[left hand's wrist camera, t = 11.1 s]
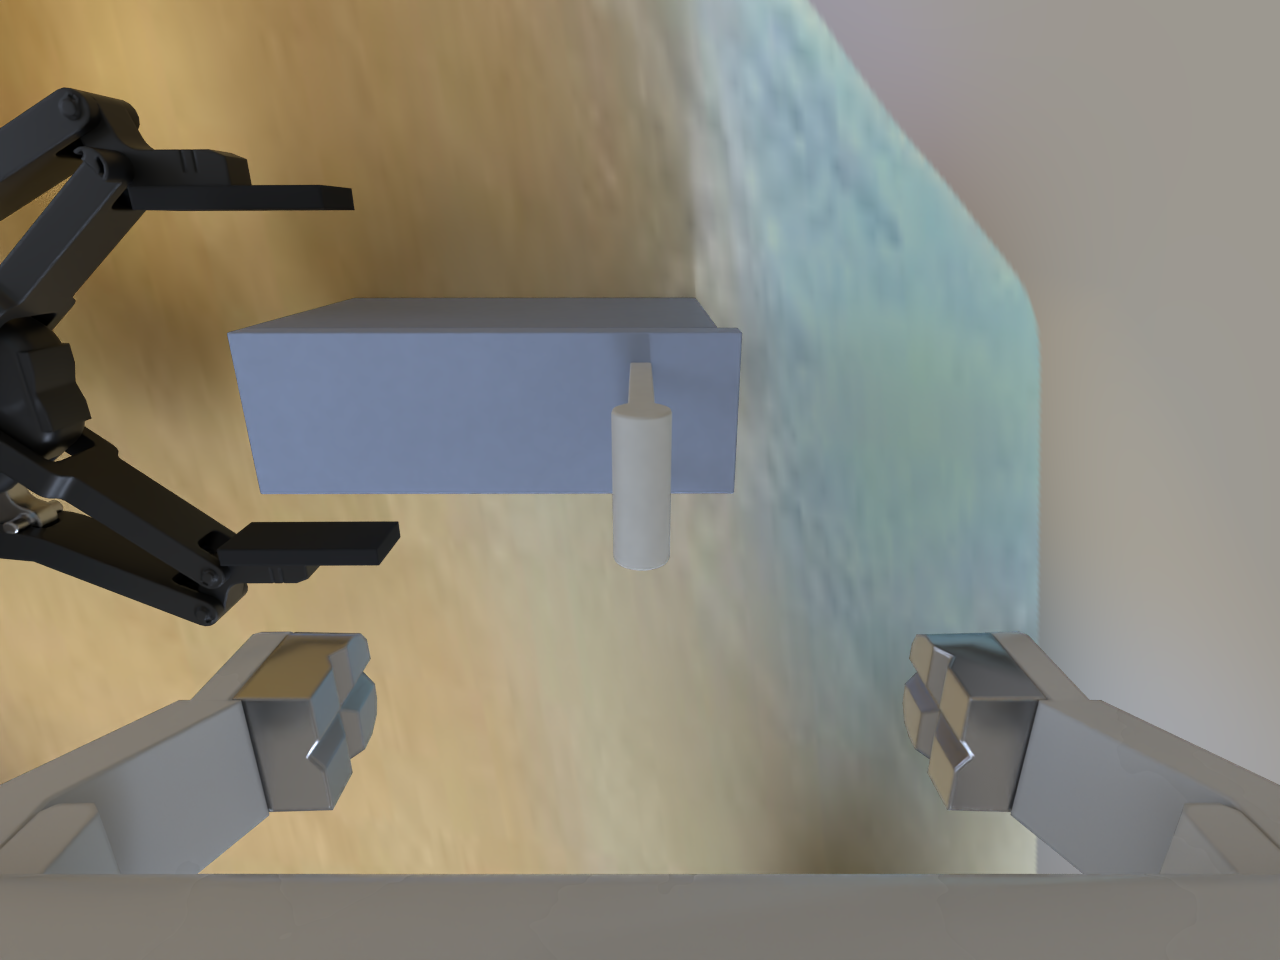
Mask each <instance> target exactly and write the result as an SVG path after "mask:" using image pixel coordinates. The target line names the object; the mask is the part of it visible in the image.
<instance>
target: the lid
mask: <svg viewBox="0 0 1280 960" xmlns="http://www.w3.org/2000/svg"><path fill="white" fill-rule="evenodd" d="M227 336H228V340H229V345H230V350H231V355H232V359H233V364H234V369H235V374H236V378H237V383H238V388H239V393H240V397H241V402H242V407H243V412H244V416H245V421H246V426H247V431H248V435H249V440H250V445H251V450H252V454H253V459H254V464H255V469H256V473H257V478H258V483H259V488H260V492H261V494H582V493H612V495H613V556H614V559H615V561H616V563H617V564H619V565H620V566H622V567H624V568H627V569H632V570H651V569H656V568H659V567H661V566H663V565H665V564H666V563H667V561H668V560H669V557H670V508H671V493H734V480H735V461H736V442H737V422H738V403H739V383H740V364H741V344H742V332H741V331H740V330H739V329H738V328H242V329H239V330H235V331H231V332H228V333H227Z"/></svg>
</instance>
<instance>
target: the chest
mask: <svg viewBox="0 0 1280 960" xmlns="http://www.w3.org/2000/svg"><path fill="white" fill-rule="evenodd" d="M246 328H717V326H716V325H715V324H714V322H713V321H712V320H711V318H710V317H709V316H708V314H707V313H706V312H705V310H704V309H703V307H702V306H701V305H700V303H699V302H698V301H697V299H696V298H353V299H349V300H345V301H341V302H338V303H334V304H330V305H327V306H323V307H319V308H315V309H312V310H308V311H304V312H301V313H297V314H293V315H290V316H286V317H282V318H279V319H275V320H271V321H268V322H264V323H260V324H257V325H253V326H249V327H246Z"/></svg>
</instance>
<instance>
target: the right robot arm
mask: <svg viewBox="0 0 1280 960" xmlns="http://www.w3.org/2000/svg"><path fill="white" fill-rule="evenodd" d="M139 125H140V123H139V117H138V115H137V112H136V110H135V109H134V108H133V107H132V106H131V105H130V104H129V103H127V102H125V101H123V100H119V99H115V98H110V97H106V96H102V95H97V94H93V93H89V92H84V91H80V90H76V89H72V88H61V89H58V90H56V91H55V92H53V93H52V94H50V95H49V96H47V97H46V98H44V99H43V100H41V101H40V102H38V103H37V104H35V105H34V106H33V107H31V108H30V109H28V110H27V111H25V112H24V113H22V114H21V115H19V116H18V117H16V118H15V119H13V120H12V121H10V122H9V123H7V124H6V125H4V126H3V127H1V128H0V221H1V220H3V219H5V218H6V217H8V216H9V215H11V214H12V213H14V212H15V211H17V210H18V209H20V208H22V207H23V206H25V205H26V204H28V203H29V202H31V201H32V200H34V199H36V198H37V197H39V196H40V195H42V194H43V193H45V192H46V191H48V190H49V189H51V188H53V187H54V186H56V185H57V184H59V183H60V182H62V181H63V180H65V179H66V178H68V177H70V176H71V175H72V176H71V178H70V179H69V180H68V181H67V183H66V184H65V185H64V186H63V188H62V189H61V190H60V191H59V192H58V194H57V195H56V196H55V197H54V199H53V200H52V201H51V202H50V204H49V205H48V206H47V207H46V209H45V210H44V211H43V212H42V214H41V215H40V216H39V217H38V219H37V220H36V221H35V222H34V224H33V225H32V226H31V227H30V228H29V230H28V231H27V232H26V233H25V235H24V236H23V237H22V238H21V240H20V241H19V242H18V243H17V245H16V246H15V247H14V248H13V250H12V251H11V252H10V253H9V255H8V256H7V257H6V258H5V260H4V261H3V262H2V263H1V265H0V558H2V559H13V560H23V561H34V562H36V563H39V564H42V565H44V566H47V567H50V568H52V569H55V570H57V571H60V572H63V573H65V574H68V575H71V576H73V577H76V578H78V579H81V580H84V581H86V582H89V583H91V584H94V585H97V586H99V587H102V588H105V589H107V590H110V591H112V592H115V593H118V594H120V595H123V596H126V597H128V598H131V599H133V600H136V601H139V602H141V603H144V604H147V605H149V606H152V607H154V608H157V609H160V610H162V611H165V612H167V613H170V614H173V615H175V616H178V617H181V618H183V619H186V620H188V621H191V622H194V623H196V624H199V625H203V626H211V625H213V624H214V623H216V622H217V621H218V620H219V619H220V618H221V617H222V616H223V615H224V614H225V613H226V612H227V611H228V610H229V609H230V608H231V607H233V606H234V605H235V604H236V603H237V602H238V601H239V600H240V599H241V598H242V597H243V596H244V595H245V594H246V592H247V591H248V586H247V583H298V582H301V581H303V580H306V579H308V578H309V577H310V576H311V575H312V574H313V573H314V572H315V571H316V569H317V568H318V567H319V566H328V565H380V563H381V562H382V561H383V559H384V558H385V557H386V555H387V554H388V553H389V551H390V550H391V549H392V547H393V546H394V545H395V543H396V542H397V541H398V539H399V538H400V530H399V523H398V522H251V523H250V524H249V525H247V526H246V527H245V528H244V529H242V530H241V531H240V532H239V533H237V534H236V533H234V532H232V531H231V530H229V529H228V528H226V527H225V526H223V525H222V524H220V523H219V522H217V521H216V520H214V519H212V518H211V517H209V516H208V515H206V514H205V513H203V512H202V511H200V510H199V509H197V508H195V507H194V506H192V505H191V504H189V503H188V502H186V501H185V500H183V499H182V498H180V497H179V496H177V495H175V494H174V493H172V492H171V491H169V490H168V489H166V488H165V487H163V486H162V485H160V484H158V483H157V482H155V481H154V480H152V479H151V478H149V477H148V476H146V475H145V474H143V473H141V472H140V471H138V470H137V469H135V468H134V467H132V466H131V465H129V464H128V463H126V462H125V461H123V460H121V459H120V458H119V456H118V449H117V448H116V447H115V446H114V445H112V444H111V443H109V442H108V441H106V440H105V439H103V438H102V437H100V436H99V435H97V434H95V433H94V432H92V431H91V430H89V429H88V428H86V427H85V426H84V424H85V421H86V420H88V419H91V415H90V412H89V409H88V405H87V402H86V399H85V398H84V396H83V394H82V392H81V391H80V389H79V387H78V385H77V384H76V381H75V361H74V358H73V354H72V351H71V348H70V344H69V343H61V341H60V340H59V338H58V337H57V336H56V335H55V333H54V332H53V331H52V330H53V329H54V327H55V326H56V325H57V324H58V323H59V322H60V320H61V319H62V318H63V317H64V316H65V315H66V313H67V312H68V311H69V310H70V309H71V308H72V306H73V305H74V304H75V299H74V298H73V296H74V294H75V293H76V292H77V291H78V289H79V288H80V287H81V286H82V285H83V284H84V282H85V281H86V280H87V279H88V278H89V276H90V275H91V274H92V273H93V272H94V271H95V269H96V268H97V267H98V266H99V265H100V264H101V262H102V261H103V260H104V259H105V258H106V257H107V255H108V254H109V253H110V252H111V251H112V250H113V248H114V247H115V246H116V245H117V244H118V243H119V241H120V240H121V239H122V238H123V237H124V235H125V234H126V233H127V232H128V231H129V230H130V228H131V227H132V226H133V225H134V224H135V223H136V221H137V220H138V219H139V218H140V217H141V216H142V214H143V213H144V212H145V211H146V210H165V211H264V210H354V203H353V196H352V189H351V188H342V187H333V186H324V185H251V179H250V174H249V169H248V163H247V159H245V158H242V157H240V156H237V155H235V154H232V153H227V152H221V151H215V150H209V149H199V150H154V149H153V148H151V147H150V146H149V145H148V144H147V143H146V142H145V141H144V139H143V138H142V136H141V134H140V132H139V131H138V128H139ZM64 451H65V452H67V453H68V454H70V455H71V457H68V458H66V459H63V460H61V461H57V462H55V461H54V460H55V459H57V458H58V457H59V456H60V455H61V454H62V453H63V452H64ZM27 489H29V490H31V491H32V492H34V493H36V494H37V495H39V496H42V497H45V498H58V499H62V500H65V501H66V502H68V503H70V504H71V505H73V506H74V507H76V508H78V509H79V510H81V511H83V512H84V513H86V514H87V515H89V516H91V517H92V518H91V517H89V516H86V515H82V514H78V513H74V512H68V511H62V510H63V506H62V504H61V503H60V502H59V501H57V500H52V501H50V502H46V501H43V500H40V499H37V498H36V497H34V496H33V495H32V494H30V493H29V491H28V490H27Z"/></svg>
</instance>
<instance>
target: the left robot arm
mask: <svg viewBox="0 0 1280 960" xmlns="http://www.w3.org/2000/svg"><path fill="white" fill-rule="evenodd" d="M370 659H371V658H370V653H369V648H368V643H367V639H366V638H365V637H364V636H363V635H362V634H361V633H317V632H294V633H293V632H260V633H256V634H253V635H252V636H251V637H250V638H249V639H248V640H247V641H246V642H245V643H244V644H243V645H242V646H241V647H240V648H239V650H238V651H237V652H236V653H235V654H234V655H233V656H232V657H231V658H230V659H229V660H228V661H227V662H226V663H225V664H224V665H223V666H222V667H221V668H220V670H219V671H218V672H217V673H216V674H215V675H214V676H213V677H212V678H211V679H210V680H209V681H208V682H207V683H206V684H205V685H204V686H203V687H202V689H201V690H200V691H199V692H198V693H197V694H196V695H195V696H194V697H193V698H192V699H191V700H178V701H176V702H174V703H172V704H170V705H168V706H166V707H164V708H162V709H159V710H157V711H155V712H153V713H151V714H149V715H147V716H145V717H143V718H140V719H138V720H136V721H134V722H132V723H130V724H128V725H126V726H124V727H121V728H119V729H117V730H115V731H113V732H111V733H109V734H107V735H105V736H102V737H100V738H98V739H96V740H94V741H92V742H90V743H88V744H86V745H83V746H81V747H79V748H77V749H75V750H73V751H71V752H69V753H67V754H64V755H62V756H60V757H58V758H56V759H54V760H52V761H50V762H48V763H45V764H43V765H41V766H39V767H37V768H35V769H33V770H31V771H29V772H26V773H24V774H22V775H20V776H18V777H16V778H14V779H12V780H10V781H7V782H5V783H3V784H1V785H0V960H1280V785H1278V784H1276V783H1274V782H1272V781H1270V780H1268V779H1266V778H1264V777H1261V776H1259V775H1257V774H1255V773H1253V772H1251V771H1249V770H1247V769H1245V768H1243V767H1240V766H1238V765H1236V764H1234V763H1232V762H1230V761H1228V760H1226V759H1224V758H1222V757H1219V756H1217V755H1215V754H1213V753H1211V752H1209V751H1207V750H1205V749H1203V748H1200V747H1198V746H1196V745H1194V744H1192V743H1190V742H1188V741H1186V740H1184V739H1182V738H1179V737H1177V736H1175V735H1173V734H1171V733H1169V732H1167V731H1165V730H1163V729H1160V728H1158V727H1156V726H1154V725H1152V724H1150V723H1148V722H1146V721H1144V720H1141V719H1139V718H1137V717H1135V716H1133V715H1131V714H1129V713H1127V712H1125V711H1123V710H1120V709H1118V708H1116V707H1114V706H1112V705H1110V704H1108V703H1106V702H1104V701H1102V700H1089V699H1088V698H1087V697H1086V696H1085V695H1084V694H1083V693H1082V692H1081V691H1080V690H1079V688H1078V687H1077V686H1076V685H1075V684H1074V683H1073V682H1072V681H1071V680H1070V679H1069V678H1068V677H1067V676H1066V675H1065V674H1064V673H1063V672H1062V671H1061V669H1060V668H1059V667H1058V666H1057V665H1056V664H1055V663H1054V662H1053V661H1052V660H1051V659H1050V658H1049V657H1048V656H1047V655H1046V654H1045V653H1044V652H1043V650H1042V649H1041V648H1040V647H1039V646H1038V645H1037V644H1036V643H1035V642H1034V641H1033V640H1032V639H1031V638H1030V637H1029V636H1028V635H1026V634H1024V633H1022V632H1019V631H1015V632H988V633H962V634H916V637H915V639H914V641H913V643H912V646H911V652H910V657H909V659H910V661H911V662H912V664H913V665H914V667H915V669H916V670H917V672H916V673H915V674H914V675H913V676H912V677H911V678H910V679H909V681H908V682H907V683H906V684H905V689H904V697H903V711H904V722H905V725H906V729H907V732H908V735H909V738H910V740H911V742H912V744H913V746H914V748H915V749H916V750H917V751H919V752H920V753H922V754H923V755H924V756H926V757H927V758H929V759H930V761H929V767H928V775H929V777H930V778H931V780H932V782H933V784H934V786H935V788H936V790H937V792H938V793H939V795H940V797H941V799H942V801H943V803H944V805H945V807H946V809H947V810H963V811H999V812H1011V816H1013V817H1014V818H1015V819H1016V820H1018V821H1019V822H1020V823H1021V824H1023V825H1024V826H1025V827H1026V828H1027V829H1029V830H1030V831H1031V832H1032V833H1034V834H1035V835H1036V836H1037V837H1038V838H1040V839H1041V840H1042V841H1043V842H1045V843H1046V844H1047V845H1048V846H1050V847H1051V848H1052V849H1053V850H1054V851H1056V852H1057V853H1058V854H1059V855H1061V856H1062V857H1063V858H1064V859H1065V860H1067V861H1068V862H1069V863H1070V864H1072V865H1073V866H1074V867H1075V868H1076V869H1078V870H1079V871H1080V872H1081V873H1083V874H198V873H199V872H200V871H201V870H203V869H204V868H205V867H206V866H207V865H209V864H210V863H211V862H212V861H214V860H215V859H216V858H217V857H218V856H220V855H221V854H222V853H223V852H225V851H226V850H227V849H228V848H230V847H231V846H232V845H233V844H234V843H236V842H237V841H238V840H239V839H241V838H242V837H243V836H244V835H245V834H247V833H248V832H249V831H250V830H252V829H253V828H254V827H255V826H257V825H258V824H259V823H260V822H261V821H263V820H264V819H265V818H266V817H268V816H269V812H280V811H315V810H333V809H334V807H335V805H336V803H337V801H338V799H339V797H340V795H341V794H342V792H343V790H344V788H345V786H346V784H347V782H348V780H349V778H350V777H351V775H352V767H351V761H350V759H351V758H353V757H354V756H356V755H357V754H358V753H360V752H361V751H363V750H364V749H365V748H366V746H367V744H368V742H369V740H370V738H371V735H372V733H373V728H374V724H375V720H376V715H377V695H376V688H375V684H374V683H373V682H372V681H371V679H370V678H369V677H368V676H367V675H366V674H365V673H364V672H363V670H364V669H365V667H366V665H367V664H368V662H369V661H370Z"/></svg>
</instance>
